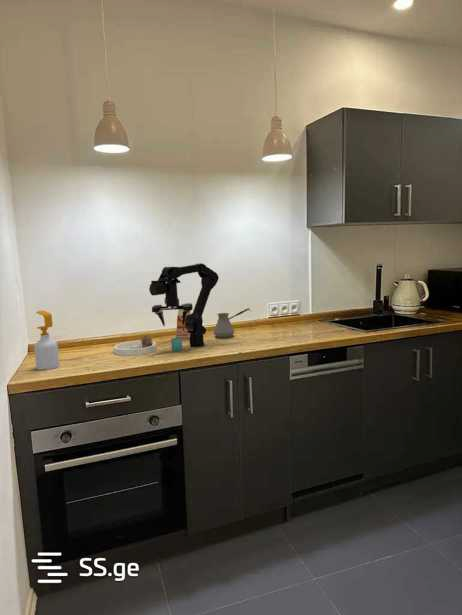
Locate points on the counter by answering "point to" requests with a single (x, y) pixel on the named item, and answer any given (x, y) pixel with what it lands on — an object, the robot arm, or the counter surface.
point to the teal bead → (176, 344)
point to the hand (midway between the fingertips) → (173, 325)
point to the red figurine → (182, 326)
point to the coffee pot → (225, 325)
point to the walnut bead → (146, 341)
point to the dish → (133, 348)
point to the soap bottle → (46, 346)
